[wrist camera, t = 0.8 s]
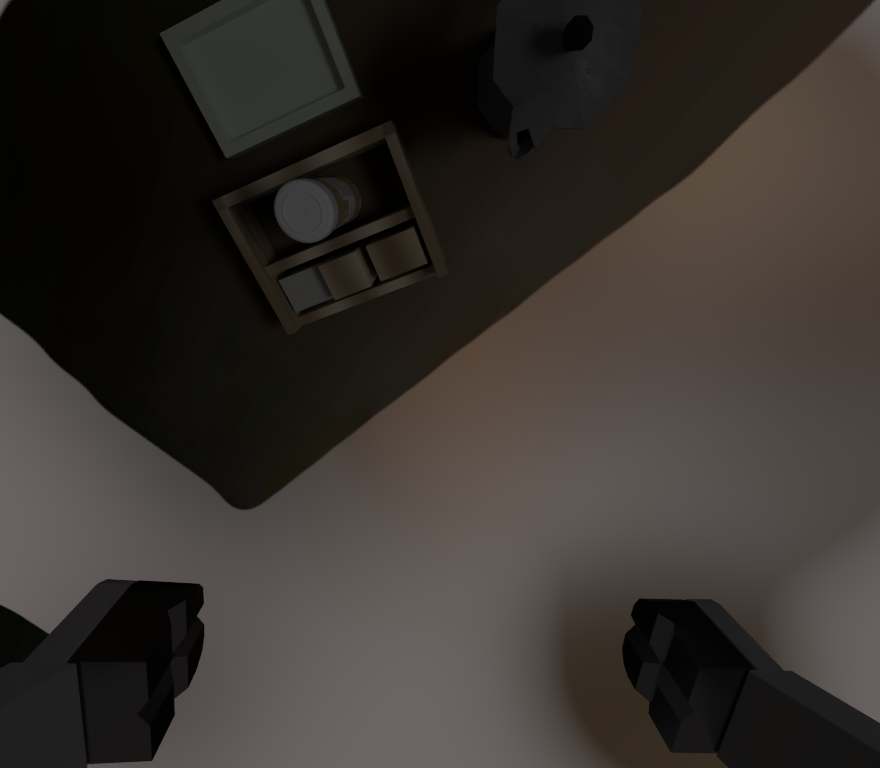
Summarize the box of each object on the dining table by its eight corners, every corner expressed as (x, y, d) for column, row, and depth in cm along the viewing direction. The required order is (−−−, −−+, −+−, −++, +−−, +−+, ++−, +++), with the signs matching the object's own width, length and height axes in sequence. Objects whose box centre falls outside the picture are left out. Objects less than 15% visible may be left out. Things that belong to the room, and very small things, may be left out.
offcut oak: (416, 221, 45) (413, 227, 41) (428, 254, 47) (427, 263, 42) (372, 238, 46) (365, 246, 42) (386, 270, 48) (380, 281, 43)
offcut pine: (364, 242, 46) (355, 251, 41) (378, 273, 48) (371, 286, 43) (330, 255, 47) (318, 266, 42) (345, 286, 48) (335, 300, 43)
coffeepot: (533, 180, 43) (588, 189, 27) (448, 137, 42) (452, 120, 26) (621, -3, 37) (760, -131, 21) (524, -62, 35) (594, -250, 19)
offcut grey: (327, 256, 47) (318, 264, 43) (342, 287, 48) (334, 297, 45) (290, 271, 48) (278, 280, 44) (306, 301, 49) (296, 312, 46)
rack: (396, 124, 41) (390, 120, 37) (447, 264, 47) (447, 274, 43) (234, 197, 44) (211, 201, 40) (301, 319, 50) (288, 335, 46)
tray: (312, -35, 36) (305, -46, 34) (363, 98, 40) (360, 95, 38) (172, 39, 38) (159, 33, 36) (235, 158, 42) (226, 158, 41)
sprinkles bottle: (343, 232, 46) (308, 256, 34) (308, 199, 44) (259, 212, 32) (371, 199, 44) (345, 212, 32) (336, 164, 43) (296, 164, 31)
